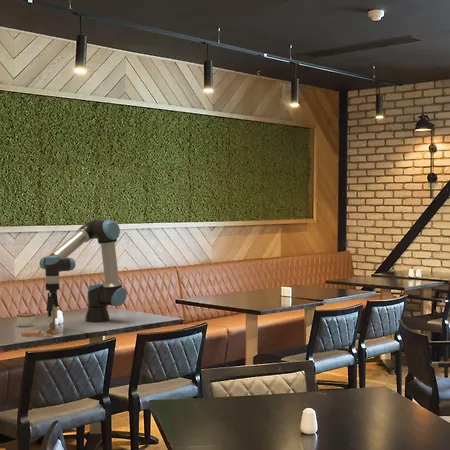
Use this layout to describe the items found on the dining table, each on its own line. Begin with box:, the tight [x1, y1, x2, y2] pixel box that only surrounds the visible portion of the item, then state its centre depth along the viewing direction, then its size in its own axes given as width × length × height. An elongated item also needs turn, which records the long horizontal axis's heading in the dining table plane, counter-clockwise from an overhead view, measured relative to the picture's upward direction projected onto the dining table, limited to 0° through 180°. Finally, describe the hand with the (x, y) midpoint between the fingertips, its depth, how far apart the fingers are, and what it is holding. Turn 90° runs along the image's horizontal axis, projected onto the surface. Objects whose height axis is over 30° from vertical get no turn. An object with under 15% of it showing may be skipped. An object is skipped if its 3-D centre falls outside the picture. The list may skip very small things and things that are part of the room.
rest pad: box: [42, 331, 62, 337], centre depth 414 cm, size 9×9×1 cm
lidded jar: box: [16, 311, 36, 328], centre depth 441 cm, size 11×11×9 cm
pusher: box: [45, 305, 60, 336], centre depth 414 cm, size 6×6×16 cm
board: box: [17, 330, 46, 338], centre depth 414 cm, size 12×18×1 cm, turn 2°
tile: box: [20, 329, 43, 338], centre depth 412 cm, size 9×2×11 cm
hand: (52, 320), depth 414 cm, fingers open, 13 cm apart
